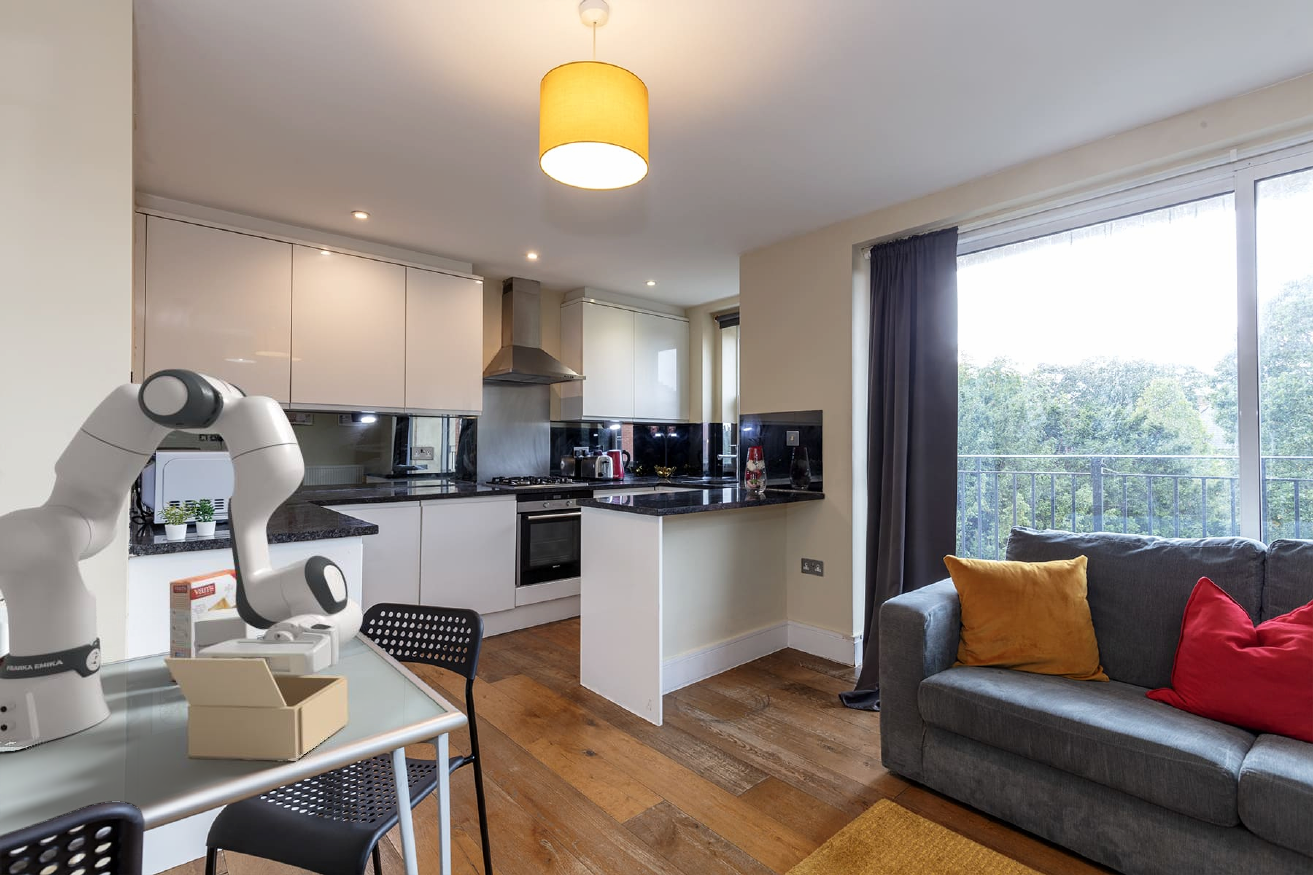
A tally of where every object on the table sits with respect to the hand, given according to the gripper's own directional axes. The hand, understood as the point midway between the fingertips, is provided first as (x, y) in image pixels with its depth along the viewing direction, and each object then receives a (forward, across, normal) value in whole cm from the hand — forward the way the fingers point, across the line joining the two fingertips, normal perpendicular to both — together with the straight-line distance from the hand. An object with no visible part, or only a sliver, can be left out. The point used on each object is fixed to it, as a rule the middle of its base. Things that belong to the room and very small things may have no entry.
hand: (226, 675), depth 92 cm
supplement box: (-30, -27, +14) cm, 43 cm away
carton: (-9, 0, +14) cm, 17 cm away
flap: (-2, 0, +6) cm, 6 cm away
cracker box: (-39, -38, +14) cm, 56 cm away
